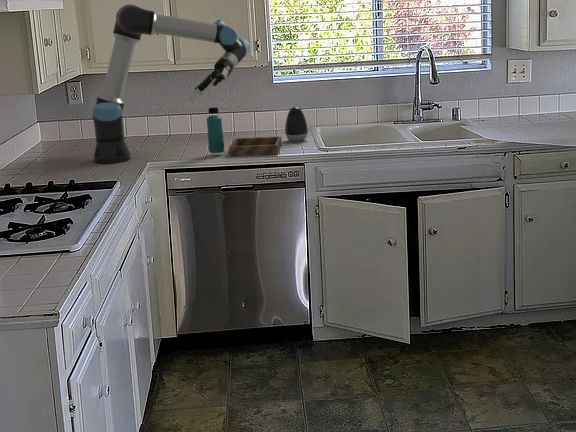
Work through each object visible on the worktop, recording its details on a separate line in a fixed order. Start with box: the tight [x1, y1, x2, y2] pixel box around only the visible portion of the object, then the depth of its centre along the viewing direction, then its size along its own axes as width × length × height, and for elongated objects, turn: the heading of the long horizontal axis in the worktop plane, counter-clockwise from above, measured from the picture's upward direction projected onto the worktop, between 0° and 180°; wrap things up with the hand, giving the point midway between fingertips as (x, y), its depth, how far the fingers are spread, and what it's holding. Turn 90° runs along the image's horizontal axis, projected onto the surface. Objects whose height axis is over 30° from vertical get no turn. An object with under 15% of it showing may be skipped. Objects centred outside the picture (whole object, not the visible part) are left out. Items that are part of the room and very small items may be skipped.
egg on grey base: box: [284, 106, 309, 143], centre depth 381 cm, size 10×10×15 cm
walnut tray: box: [228, 136, 283, 158], centre depth 365 cm, size 20×20×4 cm
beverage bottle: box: [206, 106, 225, 154], centre depth 358 cm, size 6×7×20 cm
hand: (199, 95), depth 360 cm, fingers open, 13 cm apart
